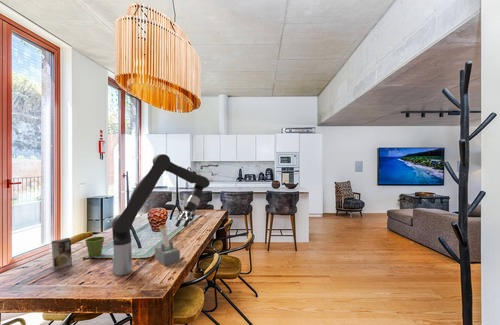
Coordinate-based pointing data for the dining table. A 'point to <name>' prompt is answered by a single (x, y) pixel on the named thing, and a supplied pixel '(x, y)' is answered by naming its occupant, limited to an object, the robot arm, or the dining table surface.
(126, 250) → the robot arm
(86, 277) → the dining table surface
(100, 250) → the plant pot
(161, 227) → the breaker lever
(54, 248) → the coffee box
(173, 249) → the box
